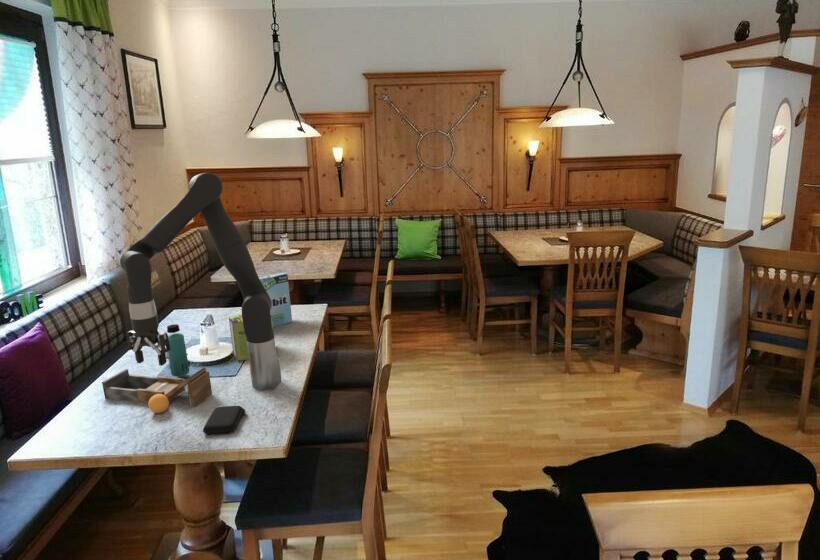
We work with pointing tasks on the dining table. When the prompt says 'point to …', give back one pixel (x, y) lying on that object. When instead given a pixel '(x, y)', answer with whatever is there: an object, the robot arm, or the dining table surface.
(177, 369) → the beverage bottle
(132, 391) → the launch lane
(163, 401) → the ball
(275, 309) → the gum box
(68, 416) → the dining table surface
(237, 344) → the protein box
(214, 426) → the carrying case or bag
